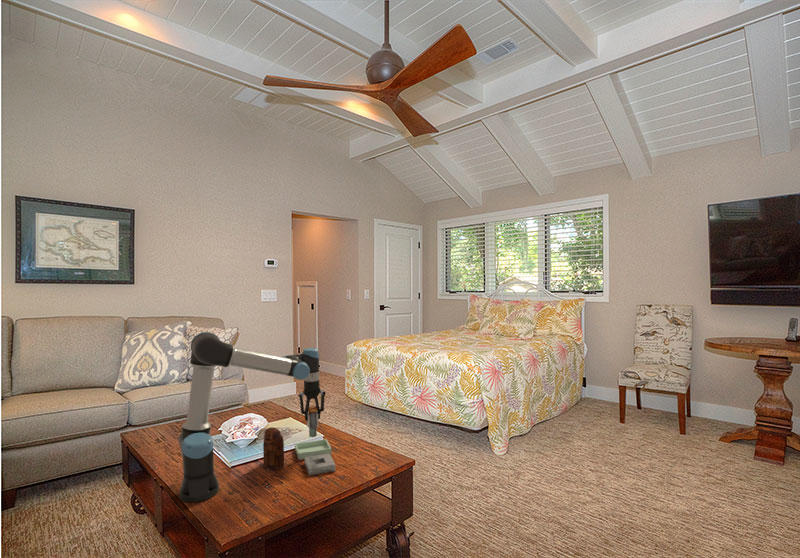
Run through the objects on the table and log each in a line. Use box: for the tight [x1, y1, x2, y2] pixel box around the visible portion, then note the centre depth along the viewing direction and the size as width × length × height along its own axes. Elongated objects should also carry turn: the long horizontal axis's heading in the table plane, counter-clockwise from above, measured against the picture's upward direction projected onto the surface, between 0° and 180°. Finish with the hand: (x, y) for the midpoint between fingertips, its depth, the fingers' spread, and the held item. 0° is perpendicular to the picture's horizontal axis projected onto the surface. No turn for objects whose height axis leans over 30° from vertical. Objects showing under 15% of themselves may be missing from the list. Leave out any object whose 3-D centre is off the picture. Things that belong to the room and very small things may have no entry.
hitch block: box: [303, 453, 336, 476], centre depth 217 cm, size 12×12×3 cm
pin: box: [308, 405, 318, 438], centre depth 232 cm, size 5×5×14 cm
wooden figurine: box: [262, 426, 285, 471], centre depth 217 cm, size 12×6×18 cm, turn 65°
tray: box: [294, 438, 333, 461], centre depth 233 cm, size 16×12×3 cm
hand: (312, 426), depth 232 cm, fingers closed on pin, 4 cm apart
